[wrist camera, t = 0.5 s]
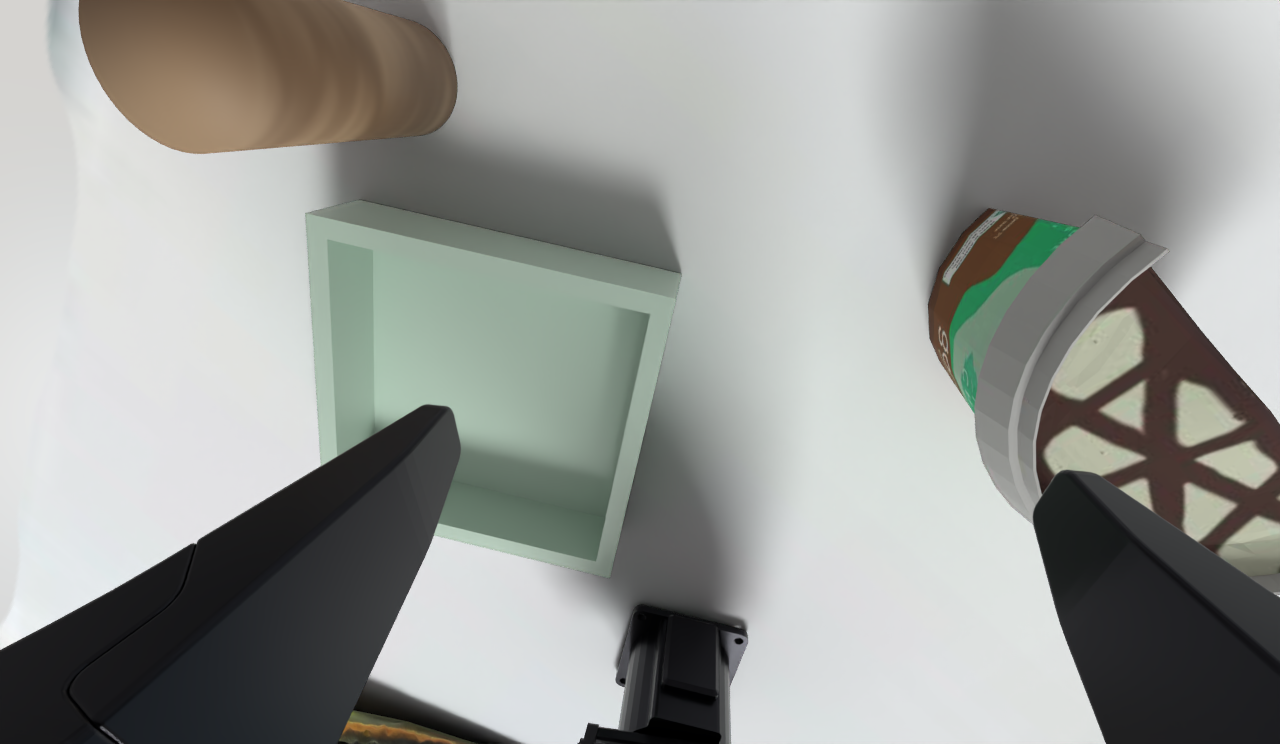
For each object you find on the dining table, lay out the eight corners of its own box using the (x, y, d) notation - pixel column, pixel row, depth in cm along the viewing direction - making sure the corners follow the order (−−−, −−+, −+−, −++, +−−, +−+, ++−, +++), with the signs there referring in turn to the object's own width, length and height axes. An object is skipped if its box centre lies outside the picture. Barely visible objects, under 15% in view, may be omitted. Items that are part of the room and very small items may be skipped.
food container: (830, 293, 23) (903, 409, 14) (964, 178, 21) (1154, 230, 12) (1009, 477, 26) (1167, 676, 17) (1146, 394, 23) (1417, 572, 14)
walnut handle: (454, 145, 23) (265, 170, 13) (358, 123, 23) (101, 133, 13) (460, 31, 21) (247, -36, 11) (355, 8, 21) (57, -77, 11)
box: (621, 528, 30) (609, 578, 26) (364, 466, 30) (323, 508, 27) (681, 273, 24) (676, 298, 20) (359, 199, 24) (305, 212, 21)
